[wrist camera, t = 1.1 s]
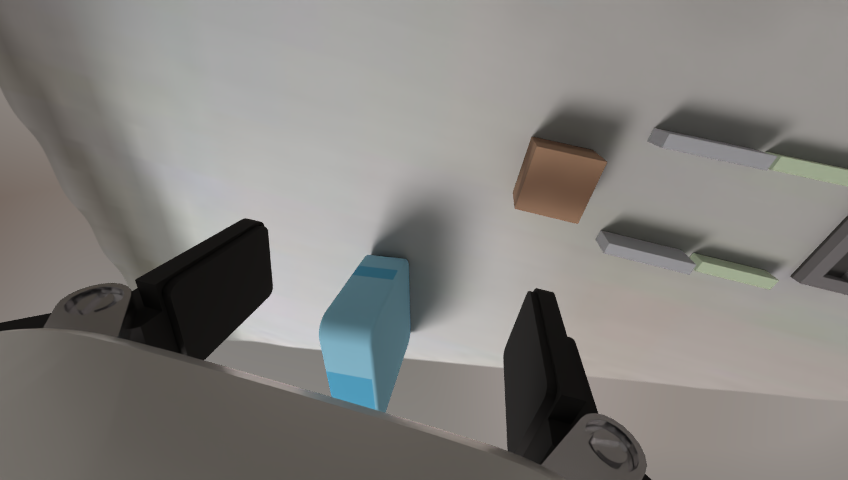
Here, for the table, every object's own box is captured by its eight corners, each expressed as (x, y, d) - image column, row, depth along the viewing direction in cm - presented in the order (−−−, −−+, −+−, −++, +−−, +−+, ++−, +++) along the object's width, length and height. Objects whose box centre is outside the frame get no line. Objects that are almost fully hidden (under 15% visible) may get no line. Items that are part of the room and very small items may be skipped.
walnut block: (531, 136, 26) (536, 146, 23) (592, 149, 26) (607, 162, 22) (512, 191, 29) (514, 208, 25) (568, 205, 28) (577, 223, 25)
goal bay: (765, 151, 23) (781, 156, 22) (854, 170, 23) (875, 176, 21) (686, 261, 28) (695, 271, 27) (757, 279, 28) (770, 289, 26)
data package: (369, 248, 35) (314, 324, 24) (409, 253, 34) (370, 333, 24) (377, 330, 40) (335, 419, 30) (411, 335, 40) (380, 429, 29)
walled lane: (654, 127, 24) (669, 133, 22) (751, 148, 23) (777, 156, 21) (595, 239, 29) (603, 253, 27) (674, 259, 28) (689, 274, 26)
